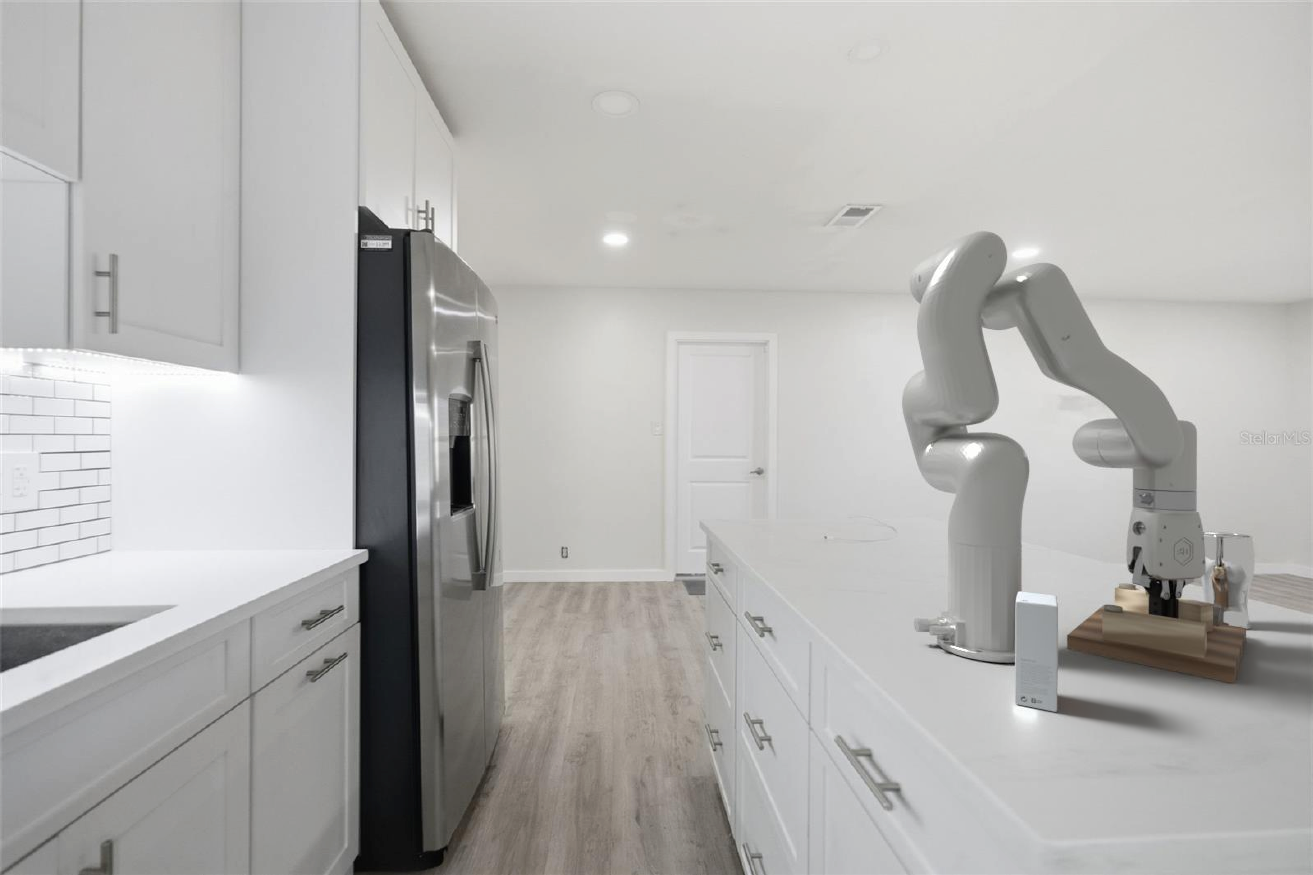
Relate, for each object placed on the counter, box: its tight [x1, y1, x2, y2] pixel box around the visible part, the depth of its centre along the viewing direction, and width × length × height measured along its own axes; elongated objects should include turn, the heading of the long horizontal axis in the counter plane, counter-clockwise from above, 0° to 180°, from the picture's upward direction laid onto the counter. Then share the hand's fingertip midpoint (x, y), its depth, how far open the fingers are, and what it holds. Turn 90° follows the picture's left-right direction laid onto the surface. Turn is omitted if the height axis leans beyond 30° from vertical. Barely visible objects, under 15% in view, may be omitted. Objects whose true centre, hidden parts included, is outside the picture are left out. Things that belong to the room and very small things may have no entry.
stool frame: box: [1066, 604, 1247, 684], centre depth 93 cm, size 24×18×7 cm
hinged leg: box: [1114, 582, 1213, 632], centre depth 97 cm, size 12×3×5 cm, turn 22°
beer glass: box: [1200, 531, 1255, 631], centre depth 104 cm, size 7×7×15 cm
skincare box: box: [1014, 591, 1059, 713], centre depth 73 cm, size 6×4×12 cm
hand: (1163, 623), depth 94 cm, fingers closed
